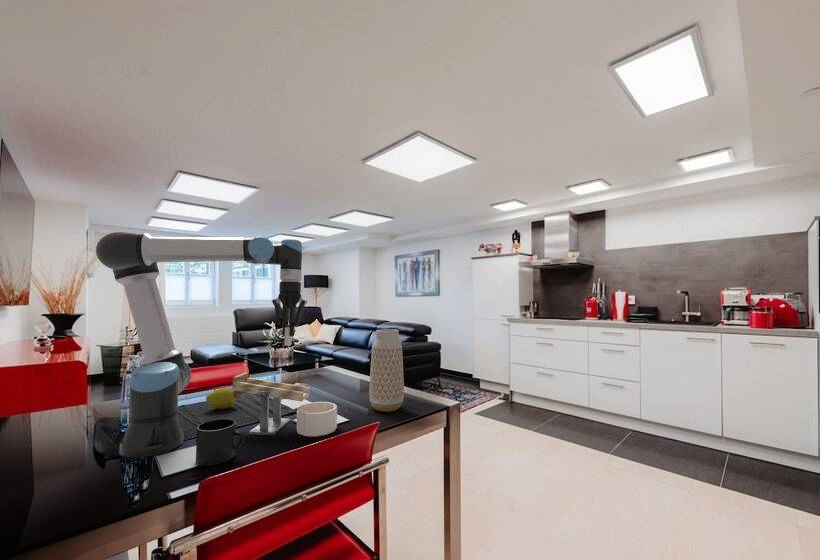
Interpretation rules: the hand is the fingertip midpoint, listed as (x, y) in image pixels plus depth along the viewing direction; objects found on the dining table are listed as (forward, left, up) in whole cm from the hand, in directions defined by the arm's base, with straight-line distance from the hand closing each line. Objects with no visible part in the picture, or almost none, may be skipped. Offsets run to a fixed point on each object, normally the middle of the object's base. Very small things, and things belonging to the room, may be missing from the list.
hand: (288, 345), depth 131 cm
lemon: (-29, +7, -26) cm, 40 cm away
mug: (-4, -33, -26) cm, 43 cm away
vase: (+35, +14, -26) cm, 46 cm away
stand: (-1, -10, -26) cm, 28 cm away
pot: (+15, -10, -26) cm, 32 cm away
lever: (-1, -6, -17) cm, 18 cm away
